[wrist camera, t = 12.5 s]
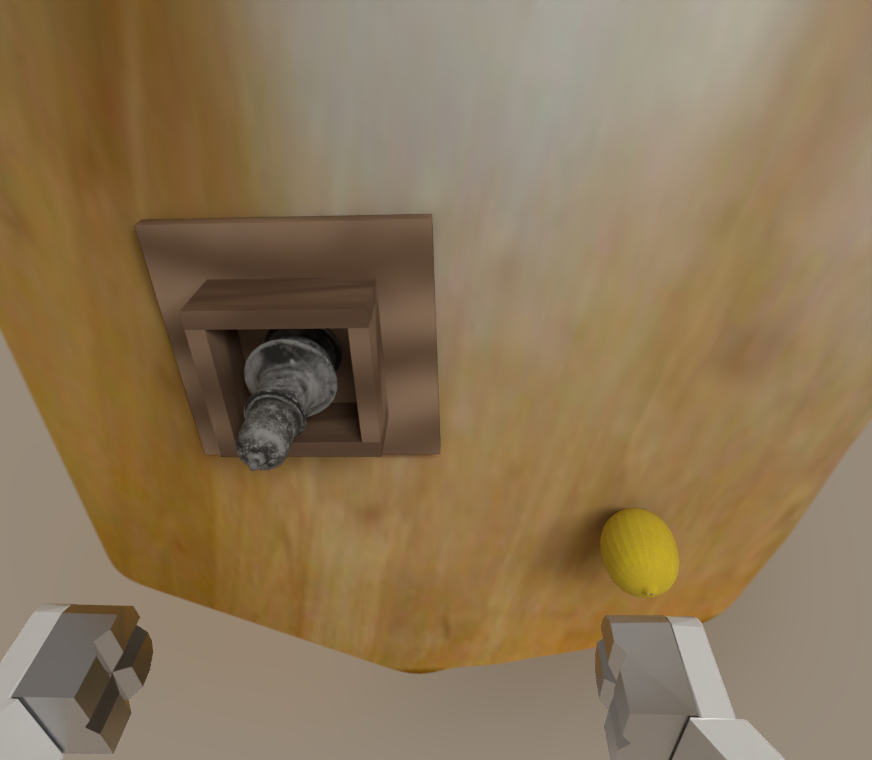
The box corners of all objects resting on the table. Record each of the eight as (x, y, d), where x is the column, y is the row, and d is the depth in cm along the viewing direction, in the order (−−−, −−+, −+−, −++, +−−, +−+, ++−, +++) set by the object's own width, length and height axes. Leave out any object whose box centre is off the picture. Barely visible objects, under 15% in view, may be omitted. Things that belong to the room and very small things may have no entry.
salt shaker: (312, 401, 44) (267, 527, 34) (243, 352, 42) (172, 470, 32) (364, 350, 41) (332, 470, 31) (293, 295, 39) (234, 403, 29)
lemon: (617, 478, 48) (643, 558, 41) (675, 501, 49) (709, 584, 42) (579, 522, 51) (596, 604, 44) (634, 543, 52) (660, 627, 45)
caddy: (141, 219, 38) (97, 252, 33) (432, 213, 37) (427, 247, 32) (209, 446, 48) (182, 496, 43) (440, 445, 47) (438, 496, 42)
